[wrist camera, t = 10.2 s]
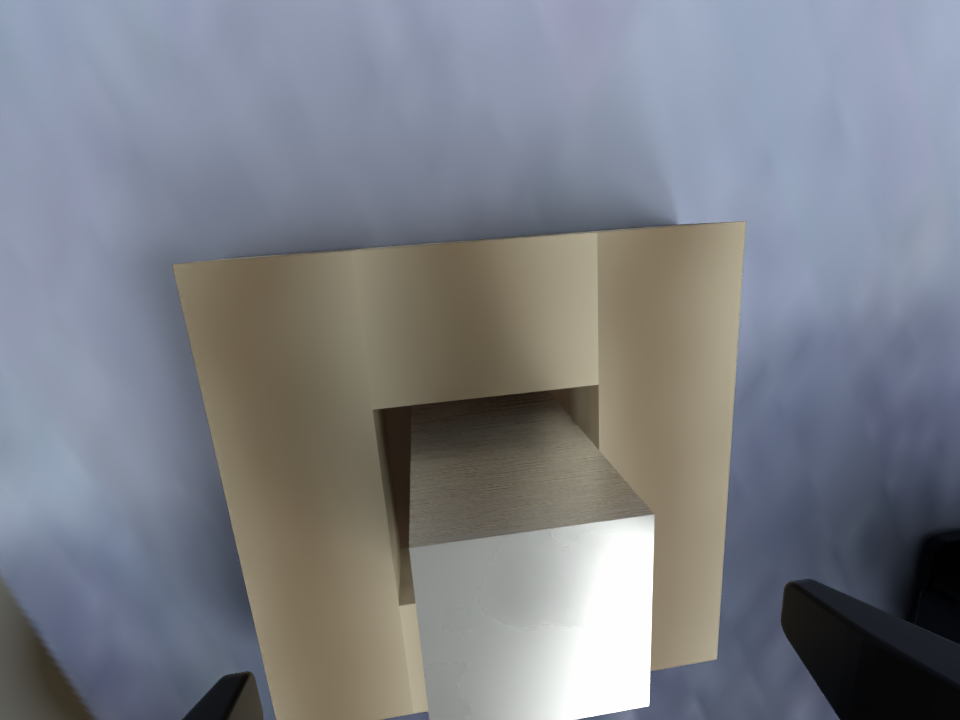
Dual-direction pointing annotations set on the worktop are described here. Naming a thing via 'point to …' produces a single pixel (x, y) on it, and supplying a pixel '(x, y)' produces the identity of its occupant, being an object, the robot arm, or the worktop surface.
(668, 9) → the worktop surface
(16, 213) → the worktop surface
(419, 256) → the well block
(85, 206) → the worktop surface
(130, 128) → the worktop surface
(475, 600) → the grey rectangular block
